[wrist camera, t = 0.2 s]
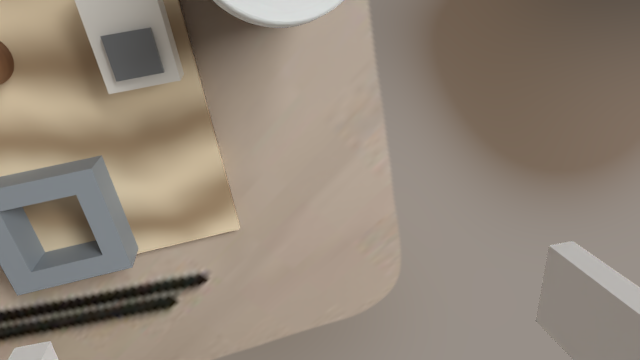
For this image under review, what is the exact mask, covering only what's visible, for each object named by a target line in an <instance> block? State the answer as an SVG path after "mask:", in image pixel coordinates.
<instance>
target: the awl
mask: <svg viewBox="0 0 640 360" xmlns="http://www.w3.org/2000/svg"><path fill="white" fill-rule="evenodd" d="M13 71H14V60H13V57H12V54H11V52H10V51H9V49H8V48H7V47H6V46H5V45H4V44H3V43H2V42H1V41H0V84H2V83H4V82H6V81H7V80H8V79H9V78H10V77H11V76H12V74H13Z"/></svg>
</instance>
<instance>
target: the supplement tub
mask: <svg viewBox="0 0 640 360" xmlns="http://www.w3.org/2000/svg"><path fill="white" fill-rule="evenodd" d="M213 1H214V2H215V3H216V4H217V5H218V6H220V7H221V8H222V9H223V10H225V11H226V12H228V13H229V14H231V15H233V16H235V17H237V18H238V19H241V20H243V21H245V22H248V23H251V24H254V25H258V26H263V27H270V28H288V27H294V26H299V25H302V24H306V23H308V22H311V21H313V20H315V19H317V18H319V17H321V16H323V15H325V14H327V13H328V12H330V11H332V10H333V9H334V8H335V7H337V6H338V5H339V4H341V3H342V2H343V1H344V0H213Z"/></svg>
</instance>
